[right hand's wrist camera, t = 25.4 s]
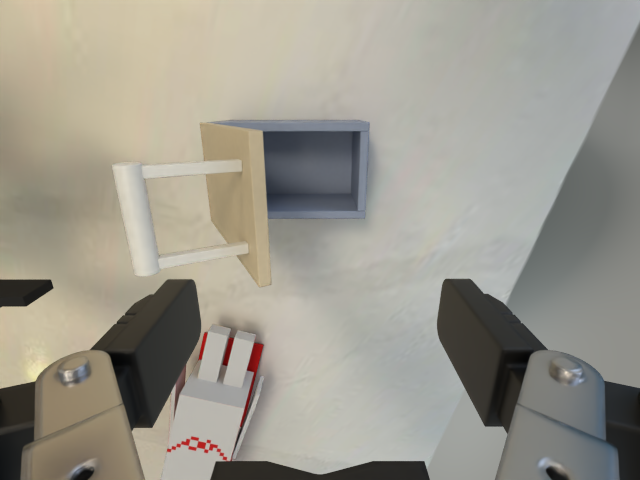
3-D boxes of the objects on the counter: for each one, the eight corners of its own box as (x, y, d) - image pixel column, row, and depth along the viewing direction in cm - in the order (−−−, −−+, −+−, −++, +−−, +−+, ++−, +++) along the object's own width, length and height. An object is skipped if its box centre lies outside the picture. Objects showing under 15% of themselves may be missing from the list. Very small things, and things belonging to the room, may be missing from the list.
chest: (359, 120, 42) (369, 122, 33) (356, 198, 46) (365, 218, 37) (229, 120, 42) (205, 122, 33) (236, 198, 46) (216, 219, 37)
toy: (269, 365, 43) (218, 546, 49) (278, 318, 56) (237, 466, 62) (172, 343, 42) (133, 531, 48) (205, 300, 55) (170, 452, 61)
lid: (263, 130, 19) (101, 134, 16) (271, 285, 23) (140, 315, 19) (209, 122, 33) (116, 124, 30) (219, 219, 36) (137, 230, 33)
